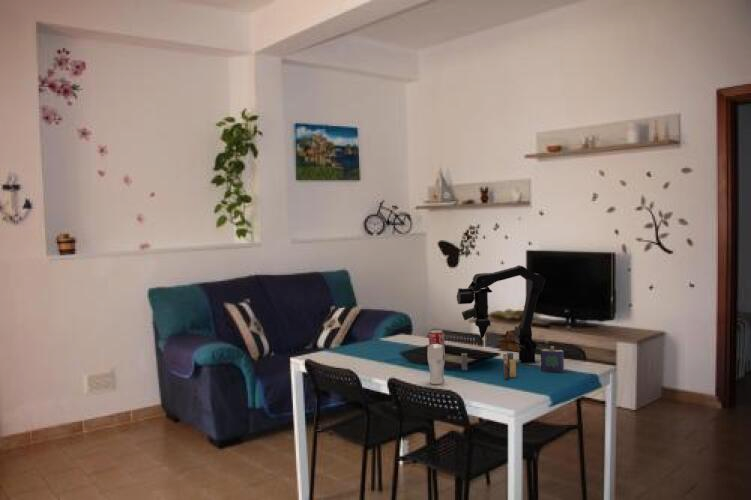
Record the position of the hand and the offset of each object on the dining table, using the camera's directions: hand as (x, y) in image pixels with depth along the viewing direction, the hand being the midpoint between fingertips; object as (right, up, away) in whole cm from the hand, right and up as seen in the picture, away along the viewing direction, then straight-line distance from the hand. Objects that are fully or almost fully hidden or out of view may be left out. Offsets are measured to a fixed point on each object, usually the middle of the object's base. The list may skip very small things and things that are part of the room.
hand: (482, 337), depth 274 cm
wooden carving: (+20, -10, +23) cm, 31 cm away
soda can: (-18, -11, +18) cm, 28 cm away
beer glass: (-22, -15, -22) cm, 34 cm away
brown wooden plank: (+8, -13, -14) cm, 20 cm away
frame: (+1, -13, -11) cm, 17 cm away
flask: (+27, -12, -13) cm, 32 cm away
